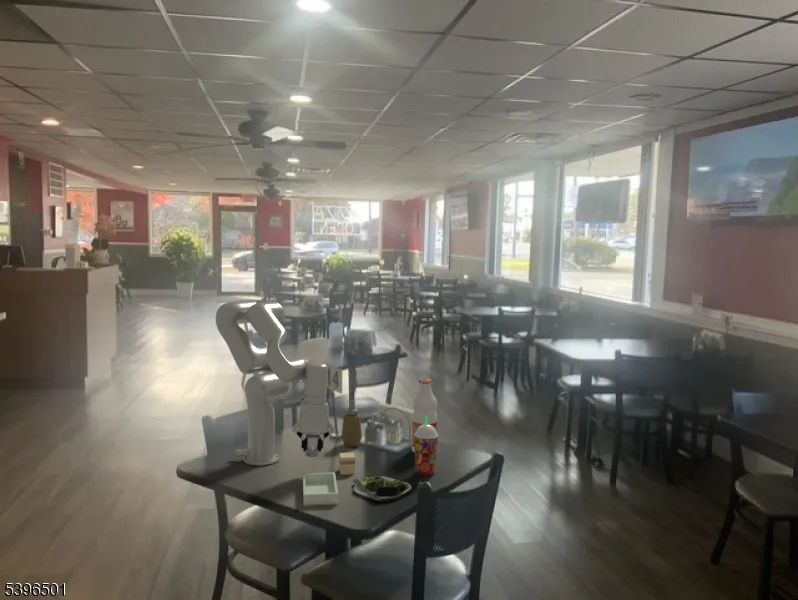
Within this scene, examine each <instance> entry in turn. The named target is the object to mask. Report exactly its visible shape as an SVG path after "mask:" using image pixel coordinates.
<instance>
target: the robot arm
mask: <svg viewBox="0 0 798 600" xmlns="http://www.w3.org/2000/svg"><path fill="white" fill-rule="evenodd" d="M285 313H286V312H285V309H284V308H283V306H282V305H281V304H280V303H279V302H277V301H273V300H272V301H270V300H261V299H260V300H259V299H249V300H247V299H246V300H234V301H228V302H225V303H223V304H221V305H220V306H219V307H218V309H217V310H216V313H215V325H216V327H217V331H218V332H219V334H220V336H221V337H222V339H223V341H225V343H226V345H227V347H228V349H229V351H230V352H229V353H230V354H231V356H232V358H233V360H234V362H235V364H236V366H237V367H238V369H239V372H241V373H242V374H243V375H252V374H254V375H253V376H251V377H249V378H248V379H247V380H246V382H245V385H244V393H245V398H246V404H247V406H246V407H247V447H246V448H244V449H241V448H240V449H239V448H238V449H237V448H236V449H235V451H234V452H235V456H238V457H243V462H244V463H245V464H247V465H250V466H254V467H255V466H260V467H261V466H269V465H272V464H275V463H277V462H278V461H279V460H280V455H279V454H278V453H276V452H275V451H276V450H275V449H276V448H275V447H276V446H275V445H276V441H275V440H276V439H275V437H276V436H275V435H276V431H275V430H276V427H275V425H276V424H275V422H276V421H275V420H276V419H275V418H276V416H275V415H276V414H275V413H276V412H275V409H274V406H273V404H272V402H271V400H272V399H275V398H278V397H281V396H283V395H286V394H287V393H288V392H289V390H290V387H291V383H295V382H299V381H304V385H303V386H304V389H303V391H304V392H303V393H302V394H299V400H302V401H301V403H300V408H299V413H298V421H297V422H296V423H295V424H294V425H293V426H292V428H291V432H293V433H295V434H296V436H297V437H298V438H299V439H300V440H301V444H300V445H301V448H300V449H303V450H302V451H303V452H304V453H305V451H306V434H307V433H318V434H320V438H319V453H321V452H322V449H324V441H325V439H326V438H328V437H329V436H330V435H331V434H333V433H334V432H335V428H334V426H333V425H332V424H331V423H330V411H329V409H330V408H329V404H328V401H327V390H328V388H327V386H328V372H329V370H328V369H329V367H328V364H326V363H324V362H322V361H315V360H313V359H311V358H309V357H299V358H293V359H289V360H288V359H287V358H286V357H285V355H284V354H283V353H282V351H281V348H280V346H281V345H282V343H284V341H286V339H287V336H288V331H287V329H285V327H284V325H282V324H281V323H282V322H283V321H284V319H285V316H286V315H285ZM244 324H250V325H251V327H252V328H253V329H254V330H255V332H256V333H257V334H258V336H259V337H260V338H261V339H262V341H263V343H264V344H265V345H259V346H256V345H255V344H254V343H253V341H252V339H251V337H250V335H249V333H248V332H247V331H246V330H245V329H243V328H242V327H240V325H244Z"/></svg>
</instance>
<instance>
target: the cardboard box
mask: <svg viewBox="0 0 798 600" xmlns="http://www.w3.org/2000/svg"><path fill="white" fill-rule="evenodd" d="M338 454H339V455H338V456H339V457H338V458H339V461H338V462H339V467H338V468H339V469H338V470H339V475H344V476H345V475H346V476H347V475H355V474H356V473H355V471H356V455H355V452H339V453H338Z"/></svg>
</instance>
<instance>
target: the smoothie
mask: <svg viewBox="0 0 798 600" xmlns="http://www.w3.org/2000/svg"><path fill="white" fill-rule="evenodd" d="M414 441H415V453H414V460H415V462H414V463H415V470H416V473H417V474H418V475H420V476H423V477H424V476H431V475H433V474H434V472H435V471H436V465H437V451H438V441H439V434H438V433H437V432H436V430H435V428H434V427H433V426H431V425H429V424H427V416H426V424H423V425H421V426H419V427H418V429H417V430H416V432H415V433H414Z"/></svg>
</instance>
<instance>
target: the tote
mask: <svg viewBox="0 0 798 600" xmlns="http://www.w3.org/2000/svg"><path fill="white" fill-rule="evenodd" d="M337 483H338V482H337V477H336V473H335V472H334V471H333V472H312V473H311V472H310V473H309V472H308V473H303V474H302V492H303V495H302V498H303V502H302V503H303V507H316V506H315V505H323V506H338V505H339V490H338V484H337Z"/></svg>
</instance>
